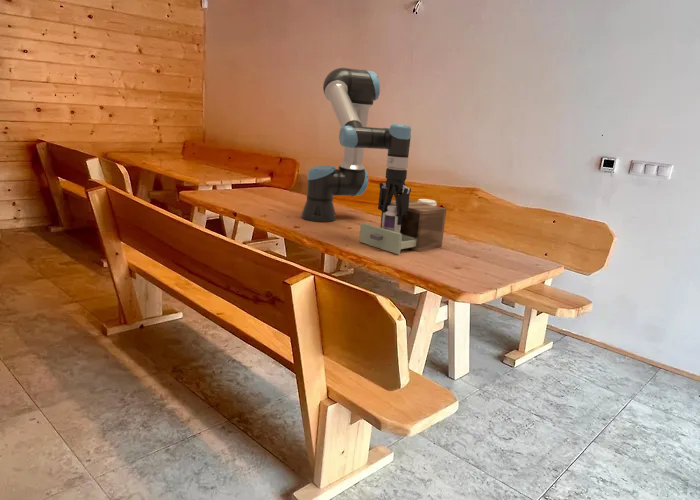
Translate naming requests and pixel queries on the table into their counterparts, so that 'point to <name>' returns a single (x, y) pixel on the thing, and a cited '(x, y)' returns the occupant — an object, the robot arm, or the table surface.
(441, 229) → the housing
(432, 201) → the coffee cup
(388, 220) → the pill bottle
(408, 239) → the drawer
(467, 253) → the table surface
